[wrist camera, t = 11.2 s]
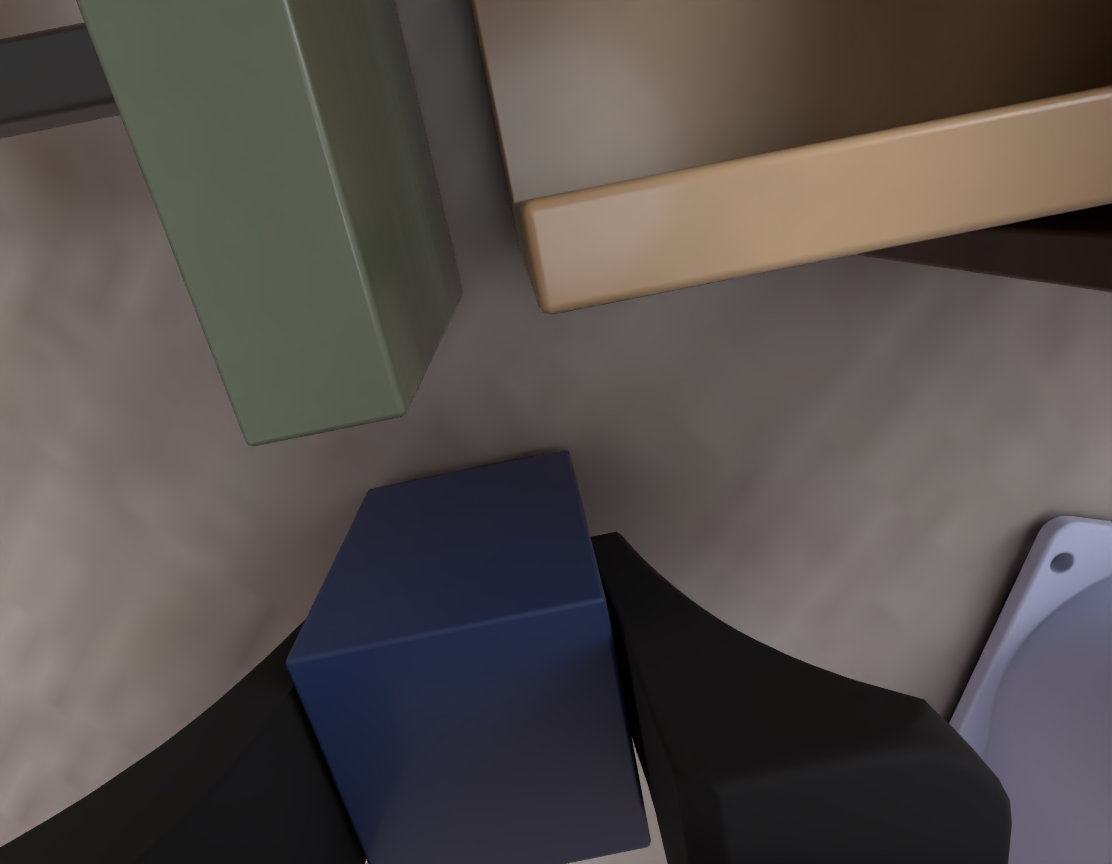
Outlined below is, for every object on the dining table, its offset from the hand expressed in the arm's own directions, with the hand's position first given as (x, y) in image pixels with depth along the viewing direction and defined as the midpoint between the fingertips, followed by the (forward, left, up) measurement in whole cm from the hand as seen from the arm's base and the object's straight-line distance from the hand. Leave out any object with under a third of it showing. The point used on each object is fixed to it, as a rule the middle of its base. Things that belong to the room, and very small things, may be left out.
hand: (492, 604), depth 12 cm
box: (0, 0, -1) cm, 1 cm away
